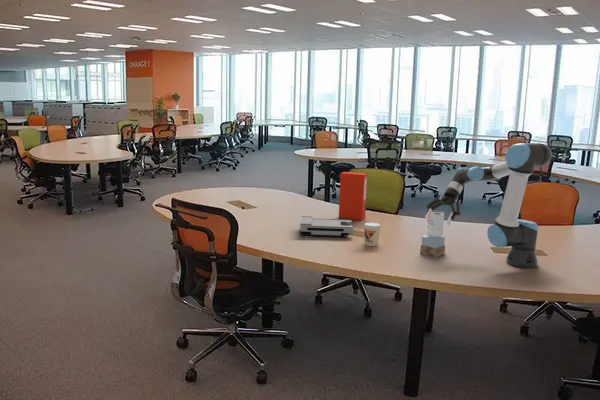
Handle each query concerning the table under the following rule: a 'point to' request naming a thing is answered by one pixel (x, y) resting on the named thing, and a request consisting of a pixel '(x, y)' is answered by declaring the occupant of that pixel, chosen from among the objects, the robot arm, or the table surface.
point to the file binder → (352, 195)
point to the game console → (325, 227)
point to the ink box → (435, 225)
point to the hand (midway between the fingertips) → (436, 221)
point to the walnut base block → (432, 251)
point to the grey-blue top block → (432, 242)
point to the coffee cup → (371, 233)
